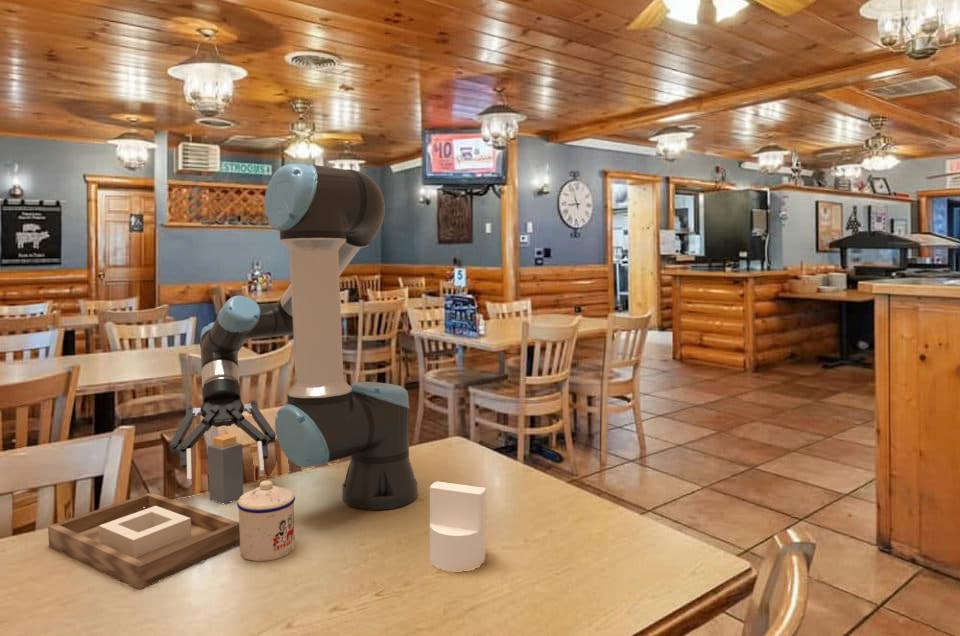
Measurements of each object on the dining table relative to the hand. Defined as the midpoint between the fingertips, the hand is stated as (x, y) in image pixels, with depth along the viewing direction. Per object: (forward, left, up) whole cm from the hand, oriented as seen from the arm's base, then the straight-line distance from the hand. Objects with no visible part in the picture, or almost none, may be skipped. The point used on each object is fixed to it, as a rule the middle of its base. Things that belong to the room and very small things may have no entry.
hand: (226, 477), depth 127 cm
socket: (-4, +19, -4) cm, 20 cm away
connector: (+2, -1, -5) cm, 6 cm away
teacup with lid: (-22, +8, -5) cm, 24 cm away
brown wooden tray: (-4, +19, -5) cm, 20 cm away
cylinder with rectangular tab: (-51, -5, -5) cm, 52 cm away
